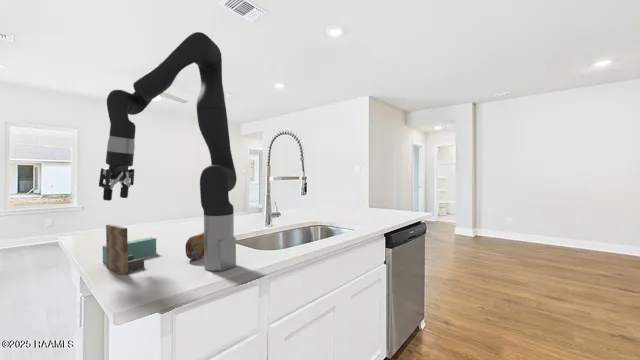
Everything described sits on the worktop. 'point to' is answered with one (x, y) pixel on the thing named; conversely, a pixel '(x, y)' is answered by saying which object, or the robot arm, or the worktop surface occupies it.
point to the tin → (195, 247)
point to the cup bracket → (120, 251)
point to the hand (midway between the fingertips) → (115, 198)
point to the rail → (137, 248)
